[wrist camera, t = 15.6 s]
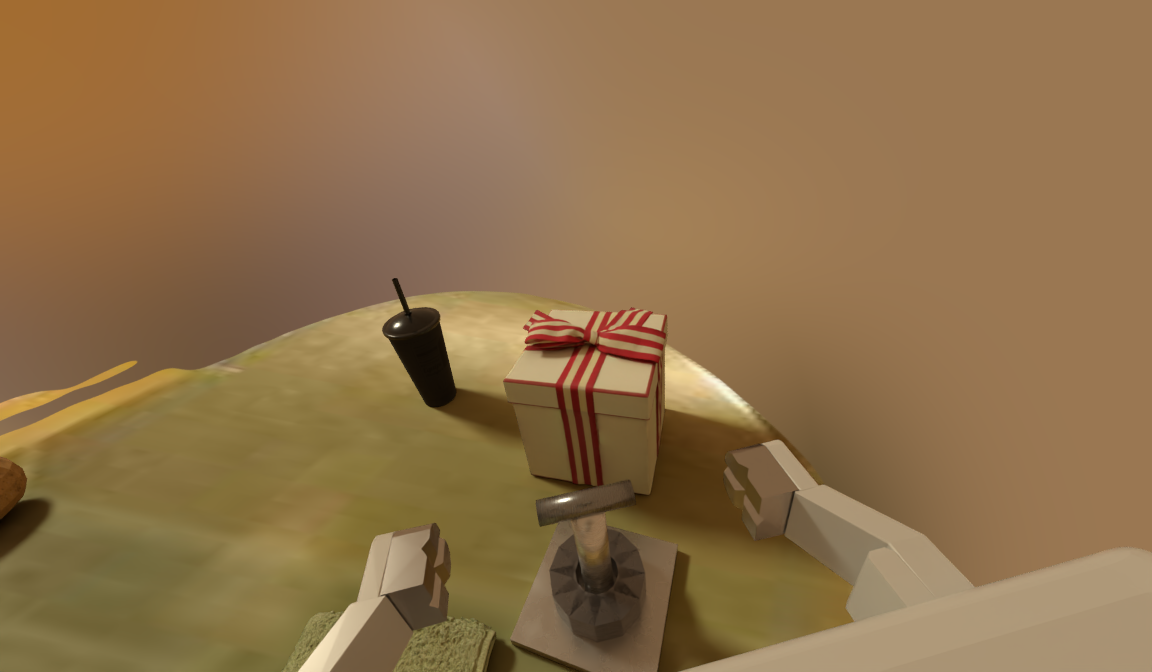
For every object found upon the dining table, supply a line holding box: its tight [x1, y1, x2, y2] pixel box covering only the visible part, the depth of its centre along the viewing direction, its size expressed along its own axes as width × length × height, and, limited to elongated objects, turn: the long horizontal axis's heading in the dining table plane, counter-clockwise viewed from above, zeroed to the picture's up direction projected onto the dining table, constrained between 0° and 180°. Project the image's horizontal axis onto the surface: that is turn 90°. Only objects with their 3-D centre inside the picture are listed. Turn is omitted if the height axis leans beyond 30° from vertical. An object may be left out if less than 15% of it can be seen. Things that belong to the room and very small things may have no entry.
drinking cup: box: [382, 278, 456, 407], centre depth 59 cm, size 8×8×20 cm
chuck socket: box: [510, 520, 678, 672], centre depth 37 cm, size 12×12×4 cm
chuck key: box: [536, 479, 636, 595], centre depth 33 cm, size 7×3×14 cm, turn 100°
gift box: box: [503, 308, 667, 495], centre depth 50 cm, size 17×18×17 cm
